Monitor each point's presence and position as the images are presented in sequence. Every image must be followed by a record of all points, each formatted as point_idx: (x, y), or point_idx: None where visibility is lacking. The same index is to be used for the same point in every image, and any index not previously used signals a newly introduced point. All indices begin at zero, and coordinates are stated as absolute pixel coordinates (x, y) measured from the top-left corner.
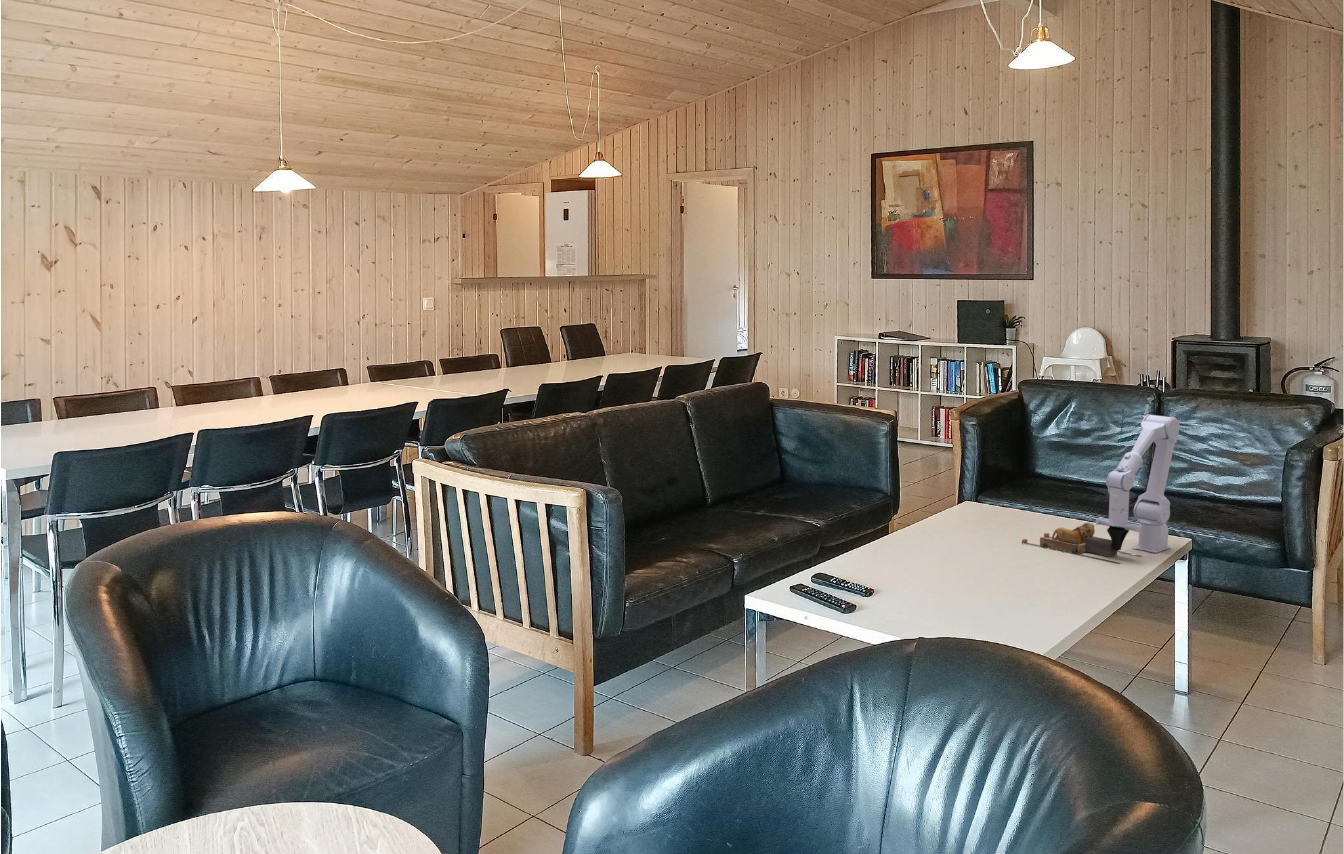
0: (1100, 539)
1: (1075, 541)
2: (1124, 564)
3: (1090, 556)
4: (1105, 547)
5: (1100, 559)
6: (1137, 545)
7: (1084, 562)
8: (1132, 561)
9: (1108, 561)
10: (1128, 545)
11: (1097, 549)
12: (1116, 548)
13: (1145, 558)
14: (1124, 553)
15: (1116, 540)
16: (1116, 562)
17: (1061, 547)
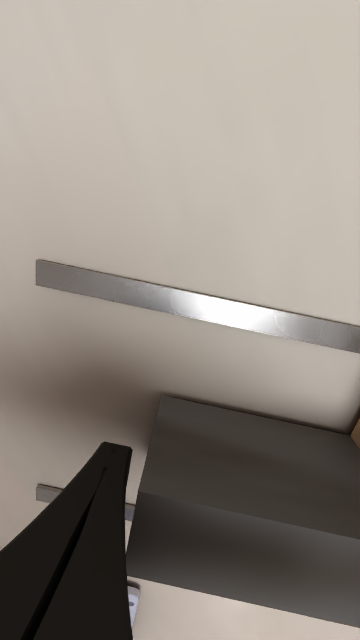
0: (281, 571)
1: None
2: (7, 275)
3: (288, 334)
4: (198, 453)
5: (193, 292)
6: (132, 621)
7: (290, 115)
8: (15, 378)
9: (125, 278)
10: (178, 618)
11: (268, 442)
12: (100, 454)
13: (4, 469)
14: (133, 505)
15: (52, 533)
16: (62, 277)
17: None
